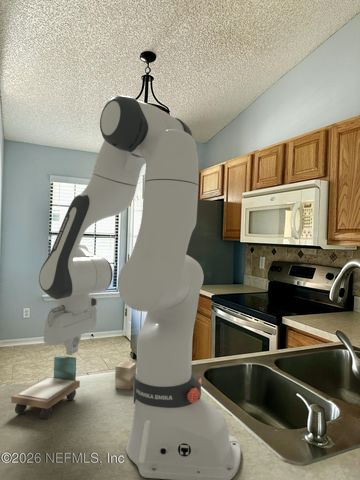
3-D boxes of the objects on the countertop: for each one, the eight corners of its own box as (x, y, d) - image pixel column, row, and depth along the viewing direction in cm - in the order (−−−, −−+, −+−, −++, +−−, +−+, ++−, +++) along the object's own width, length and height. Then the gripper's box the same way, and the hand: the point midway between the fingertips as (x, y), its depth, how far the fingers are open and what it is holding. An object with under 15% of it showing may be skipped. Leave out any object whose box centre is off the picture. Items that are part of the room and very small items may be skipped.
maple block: (135, 383, 99) (136, 363, 99) (129, 389, 95) (130, 368, 95) (121, 381, 100) (122, 361, 100) (115, 387, 96) (115, 366, 96)
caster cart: (81, 395, 90) (82, 358, 90) (47, 421, 76) (48, 377, 76) (49, 391, 92) (50, 354, 93) (10, 415, 79) (12, 372, 79)
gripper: (59, 309, 83) (58, 366, 82) (100, 298, 102) (100, 344, 102) (37, 308, 84) (37, 364, 84) (82, 298, 104) (81, 343, 103)
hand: (72, 353), depth 93 cm, fingers closed
